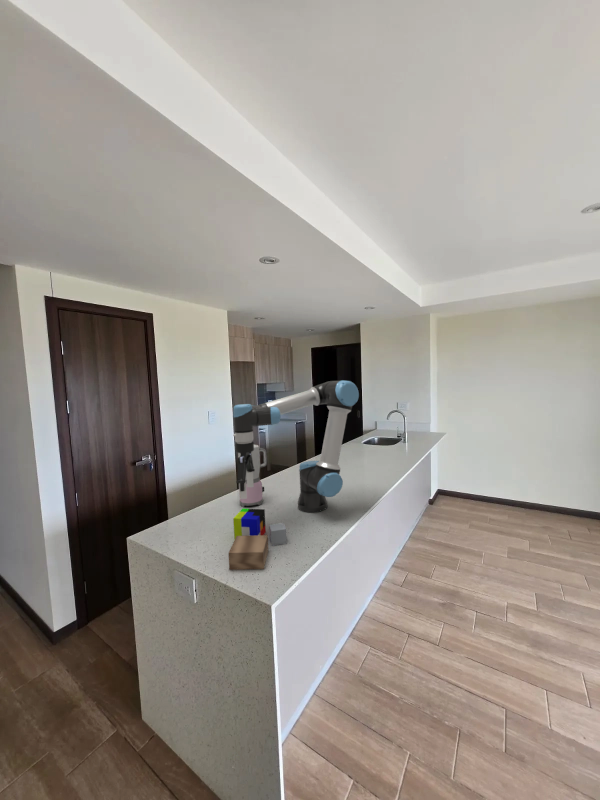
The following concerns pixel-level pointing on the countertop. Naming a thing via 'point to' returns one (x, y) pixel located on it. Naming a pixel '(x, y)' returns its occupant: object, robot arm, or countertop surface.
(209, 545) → the countertop surface
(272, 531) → the slate block
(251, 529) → the puzzle toy
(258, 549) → the walnut block
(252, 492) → the blender
